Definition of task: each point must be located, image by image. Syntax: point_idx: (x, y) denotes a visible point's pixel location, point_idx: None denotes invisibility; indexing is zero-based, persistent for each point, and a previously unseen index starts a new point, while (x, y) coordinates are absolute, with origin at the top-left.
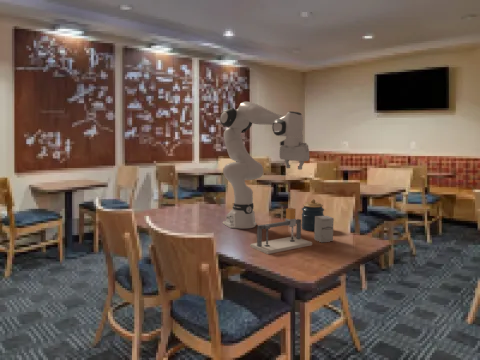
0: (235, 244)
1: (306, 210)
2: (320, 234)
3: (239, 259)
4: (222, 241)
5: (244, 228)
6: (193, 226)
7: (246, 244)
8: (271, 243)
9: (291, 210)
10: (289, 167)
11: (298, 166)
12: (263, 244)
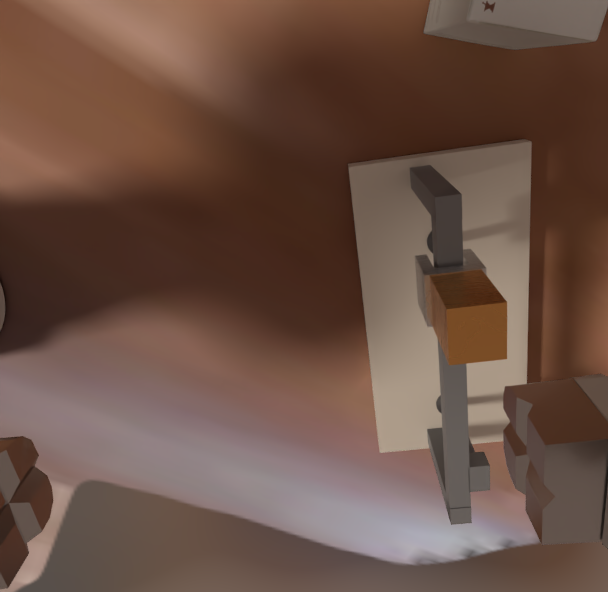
0: (305, 478)
1: None
2: (534, 47)
3: (513, 542)
4: (231, 504)
5: (4, 317)
6: None
7: (328, 439)
8: (424, 365)
9: (504, 341)
10: (24, 466)
11: (575, 531)
12: (419, 406)
